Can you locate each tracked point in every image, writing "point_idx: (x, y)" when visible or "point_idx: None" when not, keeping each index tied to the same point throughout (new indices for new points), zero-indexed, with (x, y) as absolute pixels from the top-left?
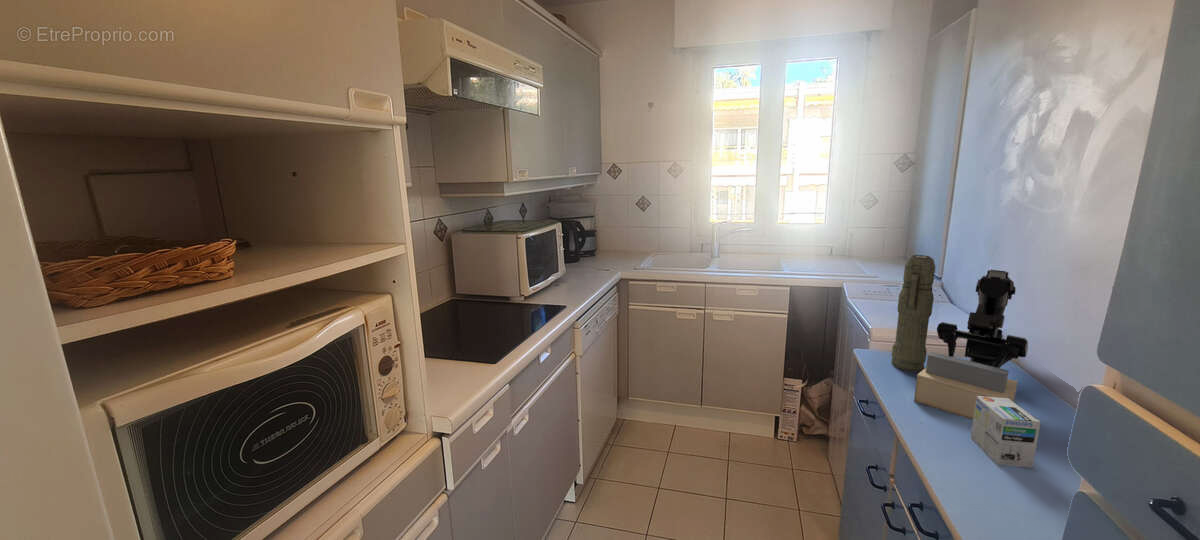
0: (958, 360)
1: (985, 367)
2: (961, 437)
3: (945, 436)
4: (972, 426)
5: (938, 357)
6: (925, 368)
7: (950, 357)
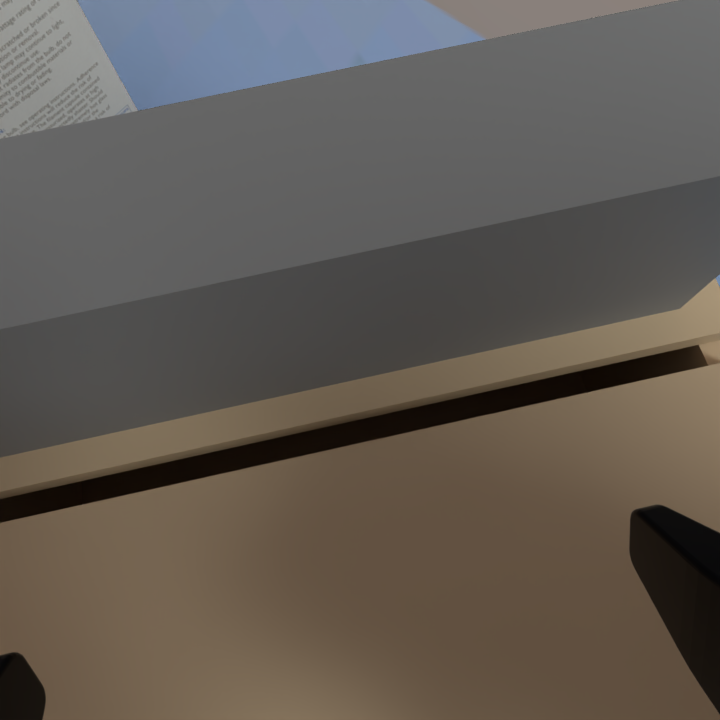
0: (365, 149)
1: None
2: (174, 94)
3: (225, 46)
4: (111, 64)
5: (611, 18)
6: (715, 295)
7: (518, 166)
